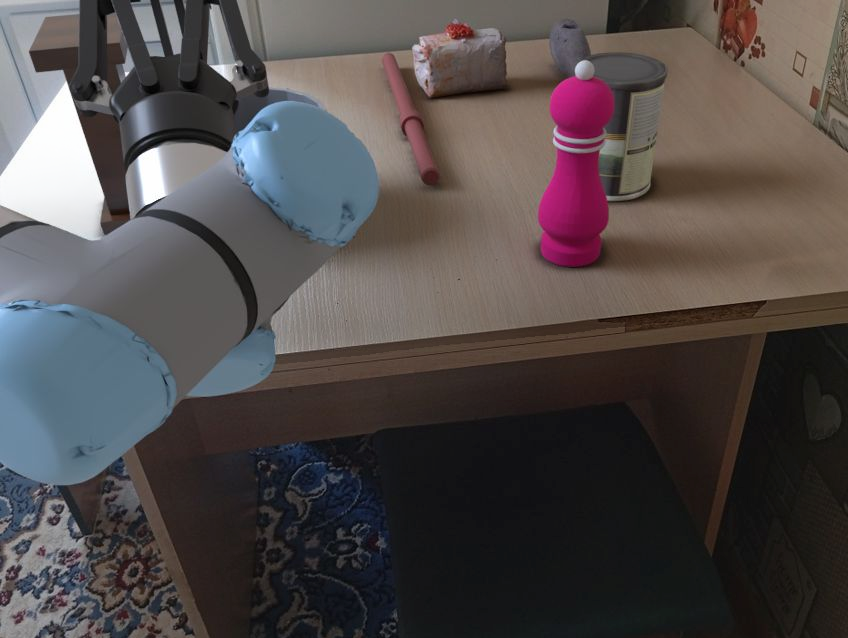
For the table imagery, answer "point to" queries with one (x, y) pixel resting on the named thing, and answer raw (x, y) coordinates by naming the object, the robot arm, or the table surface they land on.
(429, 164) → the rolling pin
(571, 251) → the pepper mill
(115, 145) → the pedestal
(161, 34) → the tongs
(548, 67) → the table surface
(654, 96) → the coffee can
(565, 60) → the perforated stone tool
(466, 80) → the food item
